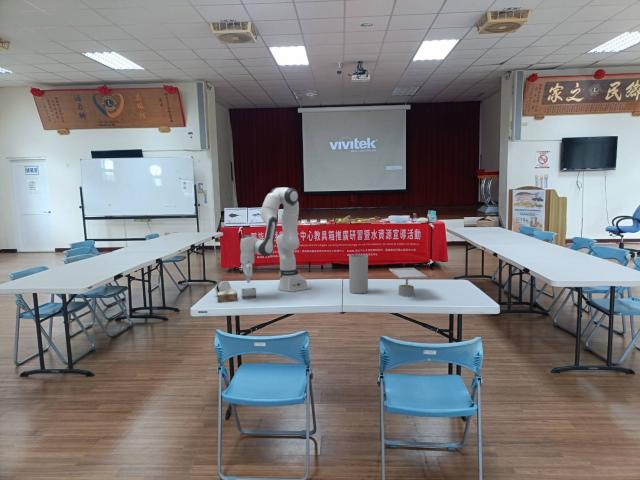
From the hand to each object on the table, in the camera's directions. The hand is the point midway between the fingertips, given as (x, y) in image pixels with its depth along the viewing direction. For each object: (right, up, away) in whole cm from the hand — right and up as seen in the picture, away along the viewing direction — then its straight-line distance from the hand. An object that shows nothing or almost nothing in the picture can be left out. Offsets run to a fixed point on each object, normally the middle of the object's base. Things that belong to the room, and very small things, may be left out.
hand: (247, 281), depth 282 cm
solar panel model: (+105, -9, +3) cm, 105 cm away
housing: (+1, -11, +2) cm, 12 cm away
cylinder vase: (+74, -9, +13) cm, 75 cm away
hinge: (-18, -11, +12) cm, 24 cm away
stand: (-12, -12, -3) cm, 18 cm away
